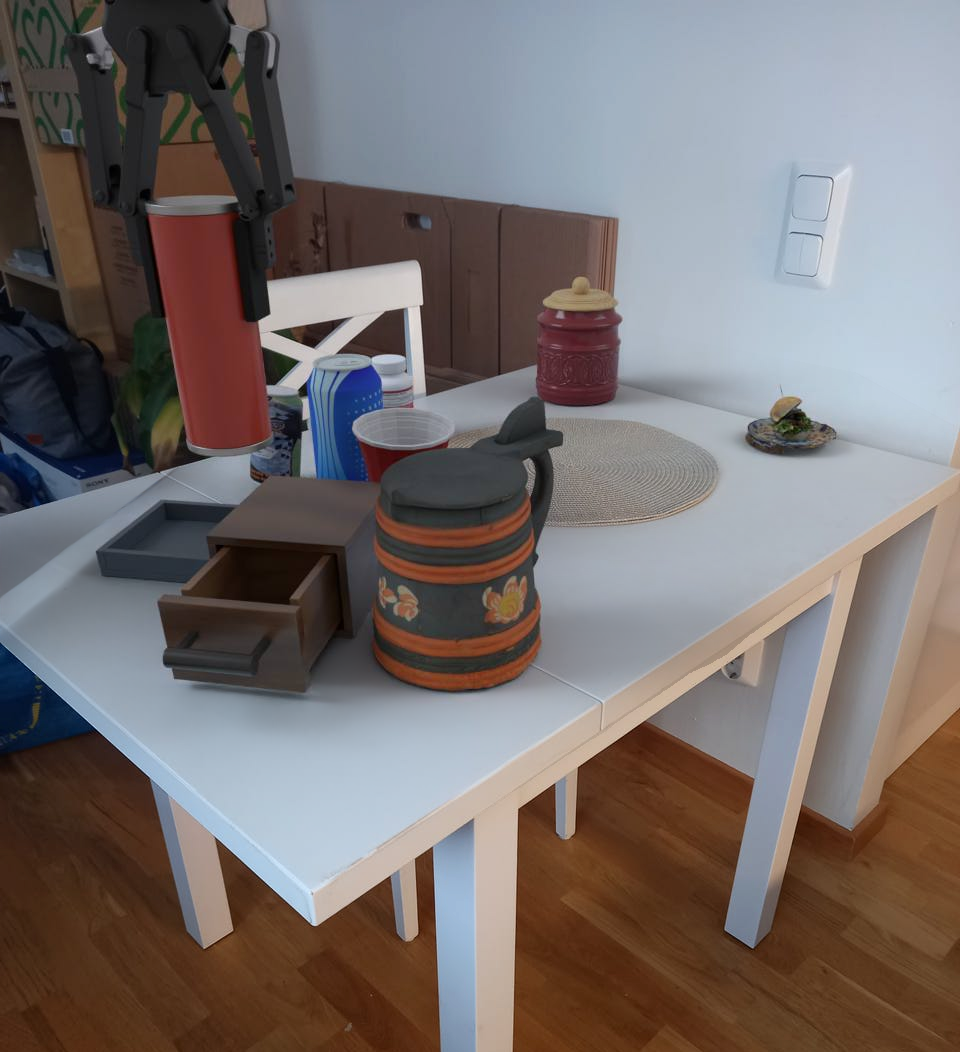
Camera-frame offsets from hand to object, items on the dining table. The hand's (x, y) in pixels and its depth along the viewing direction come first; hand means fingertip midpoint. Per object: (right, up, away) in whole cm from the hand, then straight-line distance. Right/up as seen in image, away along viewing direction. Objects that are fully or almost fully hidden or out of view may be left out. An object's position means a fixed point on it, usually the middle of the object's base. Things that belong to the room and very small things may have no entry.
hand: (212, 315), depth 67 cm
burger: (+61, +3, +59) cm, 86 cm away
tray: (-11, -14, +32) cm, 36 cm away
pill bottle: (+7, +5, +63) cm, 63 cm away
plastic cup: (+11, -11, +37) cm, 40 cm away
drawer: (+1, -25, +12) cm, 27 cm away
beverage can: (-5, -4, +48) cm, 49 cm away
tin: (0, -8, +5) cm, 9 cm away
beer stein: (+19, -23, +16) cm, 34 cm away
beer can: (+4, -6, +45) cm, 45 cm away
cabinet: (+3, -19, +23) cm, 30 cm away
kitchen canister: (+35, +15, +80) cm, 88 cm away
